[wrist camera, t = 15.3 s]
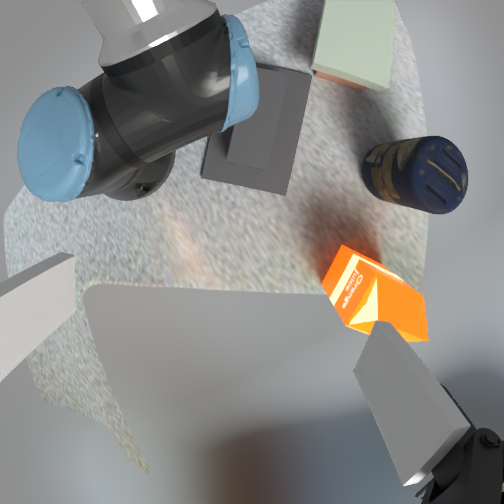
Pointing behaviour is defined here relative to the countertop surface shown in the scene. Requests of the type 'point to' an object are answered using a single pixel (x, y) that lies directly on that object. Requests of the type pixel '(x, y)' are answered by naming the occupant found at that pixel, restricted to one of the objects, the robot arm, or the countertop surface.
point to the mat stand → (262, 135)
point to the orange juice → (374, 296)
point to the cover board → (356, 41)
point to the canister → (418, 174)
